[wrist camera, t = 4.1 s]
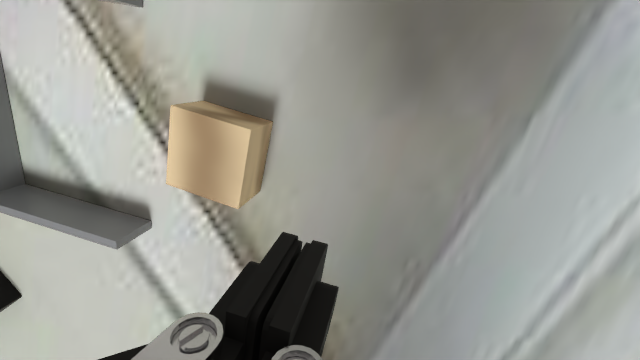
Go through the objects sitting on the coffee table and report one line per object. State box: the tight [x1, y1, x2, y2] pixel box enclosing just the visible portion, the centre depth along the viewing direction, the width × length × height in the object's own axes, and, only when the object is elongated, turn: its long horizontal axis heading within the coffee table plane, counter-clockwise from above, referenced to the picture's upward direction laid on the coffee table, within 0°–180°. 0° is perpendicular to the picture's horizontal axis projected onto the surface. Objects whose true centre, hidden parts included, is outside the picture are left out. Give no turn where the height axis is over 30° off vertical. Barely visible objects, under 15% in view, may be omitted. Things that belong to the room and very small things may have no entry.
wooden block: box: [166, 101, 273, 209], centre depth 24 cm, size 6×6×4 cm
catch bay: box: [0, 0, 151, 249], centre depth 26 cm, size 16×20×4 cm
